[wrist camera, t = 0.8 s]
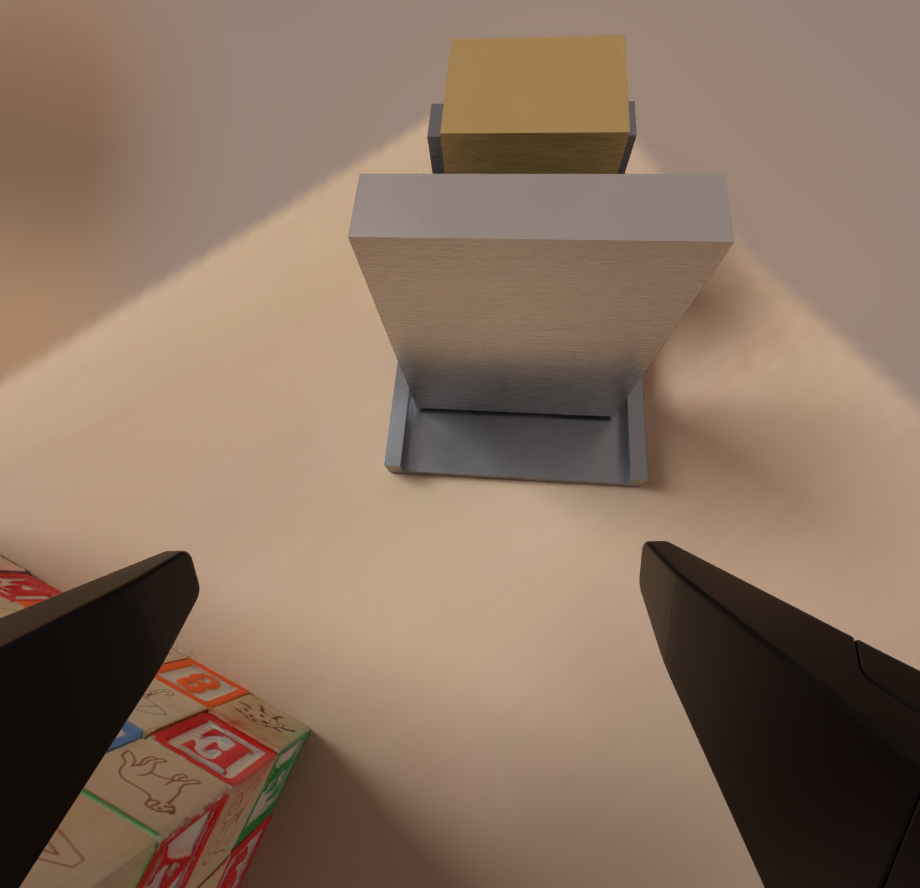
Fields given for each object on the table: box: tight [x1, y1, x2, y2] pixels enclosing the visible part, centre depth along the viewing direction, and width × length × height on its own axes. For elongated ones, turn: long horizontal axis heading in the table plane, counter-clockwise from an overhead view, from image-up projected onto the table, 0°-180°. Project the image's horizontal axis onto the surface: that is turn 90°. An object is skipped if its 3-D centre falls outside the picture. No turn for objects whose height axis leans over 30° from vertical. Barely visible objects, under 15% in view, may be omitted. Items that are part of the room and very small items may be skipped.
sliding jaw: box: [348, 174, 734, 417], centre depth 16 cm, size 2×9×11 cm, turn 86°
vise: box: [384, 101, 648, 487], centre depth 21 cm, size 16×11×5 cm
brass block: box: [440, 35, 630, 174], centre depth 20 cm, size 4×6×9 cm
